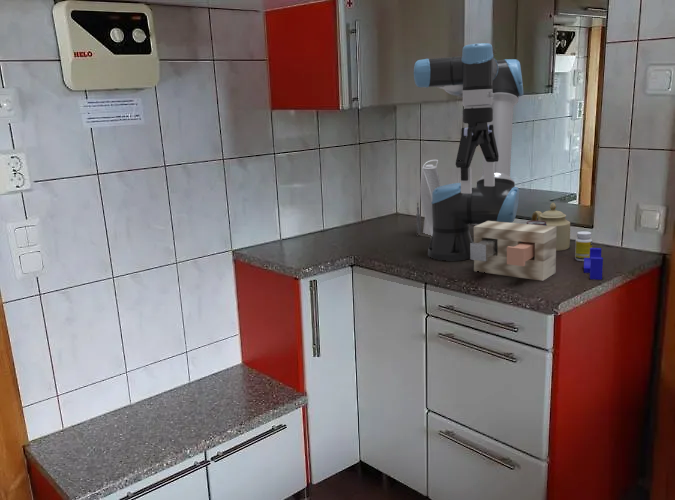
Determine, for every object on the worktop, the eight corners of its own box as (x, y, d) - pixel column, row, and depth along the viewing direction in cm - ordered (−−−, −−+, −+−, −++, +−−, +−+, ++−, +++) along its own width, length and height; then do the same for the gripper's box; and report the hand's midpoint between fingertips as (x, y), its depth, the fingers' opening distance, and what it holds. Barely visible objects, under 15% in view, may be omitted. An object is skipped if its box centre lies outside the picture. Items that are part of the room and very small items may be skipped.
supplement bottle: (593, 261, 189) (594, 234, 187) (576, 261, 190) (577, 234, 188) (590, 257, 193) (591, 230, 191) (573, 257, 194) (574, 231, 192)
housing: (474, 271, 187) (473, 226, 183) (488, 263, 193) (487, 220, 190) (543, 280, 173) (543, 233, 170) (555, 272, 180) (556, 226, 177)
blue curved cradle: (583, 267, 184) (584, 247, 182) (600, 268, 182) (601, 248, 181) (584, 279, 173) (585, 258, 172) (601, 280, 171) (602, 258, 170)
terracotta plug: (506, 264, 172) (506, 247, 170) (525, 253, 181) (526, 237, 180) (523, 266, 169) (523, 248, 167) (542, 255, 178) (542, 239, 177)
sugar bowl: (517, 247, 211) (518, 202, 207) (533, 240, 218) (534, 197, 215) (560, 252, 201) (561, 206, 197) (575, 245, 208) (576, 200, 205)
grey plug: (470, 259, 179) (470, 243, 177) (490, 249, 188) (490, 233, 187) (485, 261, 175) (485, 244, 174) (505, 251, 185) (505, 235, 184)
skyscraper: (431, 231, 243) (428, 158, 235) (447, 234, 236) (444, 159, 229) (415, 235, 238) (412, 161, 231) (431, 238, 232) (427, 163, 224)
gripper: (468, 108, 149) (469, 197, 154) (511, 104, 168) (511, 183, 173) (440, 109, 154) (442, 195, 159) (485, 106, 173) (485, 183, 178)
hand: (478, 189), depth 166 cm, fingers open, 13 cm apart
